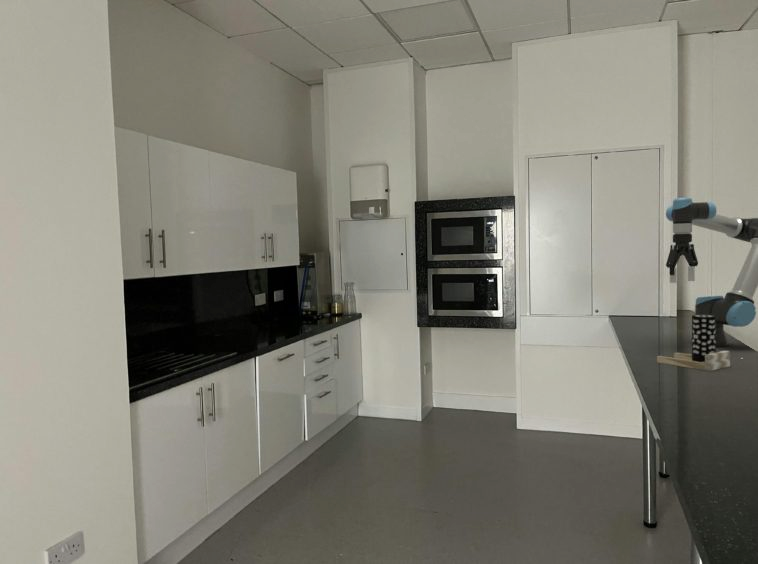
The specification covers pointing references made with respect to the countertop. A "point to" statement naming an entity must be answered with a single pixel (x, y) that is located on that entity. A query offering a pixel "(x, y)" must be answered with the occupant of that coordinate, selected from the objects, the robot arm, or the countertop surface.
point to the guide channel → (711, 362)
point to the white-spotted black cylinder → (703, 336)
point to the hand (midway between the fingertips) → (682, 281)
